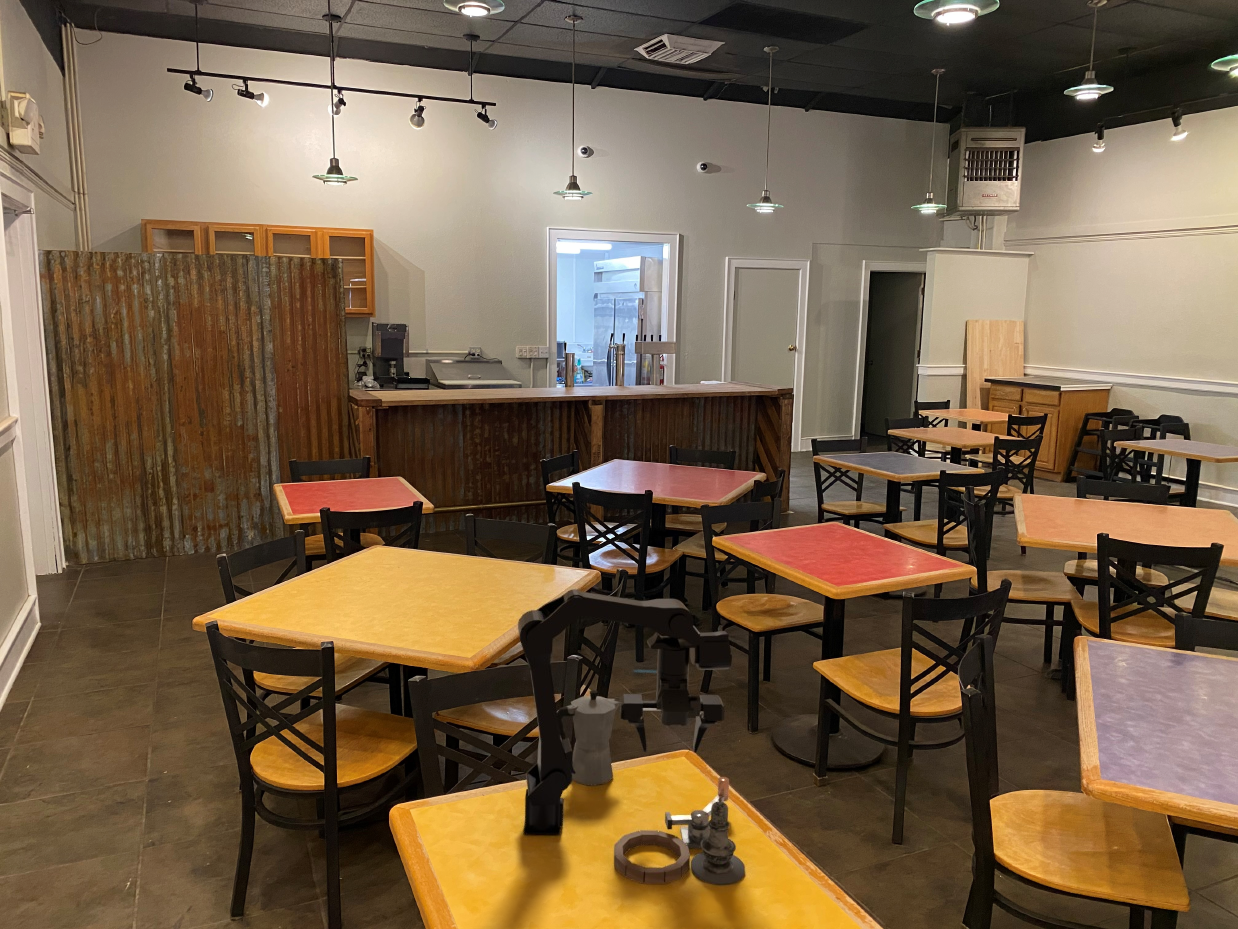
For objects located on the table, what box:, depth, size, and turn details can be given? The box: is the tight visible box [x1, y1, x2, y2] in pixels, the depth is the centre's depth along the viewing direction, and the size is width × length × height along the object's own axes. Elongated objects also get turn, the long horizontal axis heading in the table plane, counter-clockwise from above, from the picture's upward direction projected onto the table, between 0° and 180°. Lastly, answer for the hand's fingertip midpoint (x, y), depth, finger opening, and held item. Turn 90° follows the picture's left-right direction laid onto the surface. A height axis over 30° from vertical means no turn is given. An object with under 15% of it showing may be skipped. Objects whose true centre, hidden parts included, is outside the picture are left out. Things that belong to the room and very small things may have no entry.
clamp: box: [664, 776, 730, 830], centre depth 157 cm, size 7×16×4 cm, turn 149°
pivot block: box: [679, 825, 710, 850], centre depth 154 cm, size 6×6×2 cm
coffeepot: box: [557, 689, 620, 786], centre depth 175 cm, size 15×9×18 cm, turn 119°
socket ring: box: [613, 829, 691, 885], centre depth 147 cm, size 13×13×2 cm
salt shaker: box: [701, 798, 737, 875], centre depth 144 cm, size 6×6×12 cm
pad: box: [690, 851, 746, 886], centre depth 145 cm, size 9×9×1 cm
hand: (669, 751), depth 159 cm, fingers open, 9 cm apart
